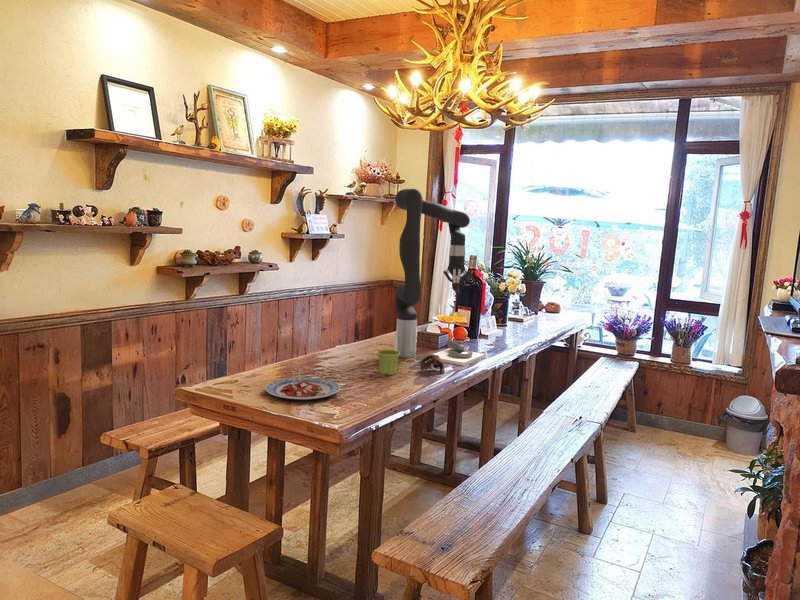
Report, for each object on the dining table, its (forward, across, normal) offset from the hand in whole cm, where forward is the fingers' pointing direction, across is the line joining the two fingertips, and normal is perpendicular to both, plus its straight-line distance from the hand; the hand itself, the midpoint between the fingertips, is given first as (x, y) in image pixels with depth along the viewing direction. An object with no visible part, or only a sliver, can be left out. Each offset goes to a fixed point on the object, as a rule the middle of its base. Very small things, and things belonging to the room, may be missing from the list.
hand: (455, 290), depth 282 cm
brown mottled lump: (+29, +16, +42) cm, 54 cm away
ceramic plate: (+30, +68, +74) cm, 104 cm away
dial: (+27, +1, +16) cm, 31 cm away
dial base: (+29, +1, +18) cm, 34 cm away
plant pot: (+29, +35, +46) cm, 65 cm away
